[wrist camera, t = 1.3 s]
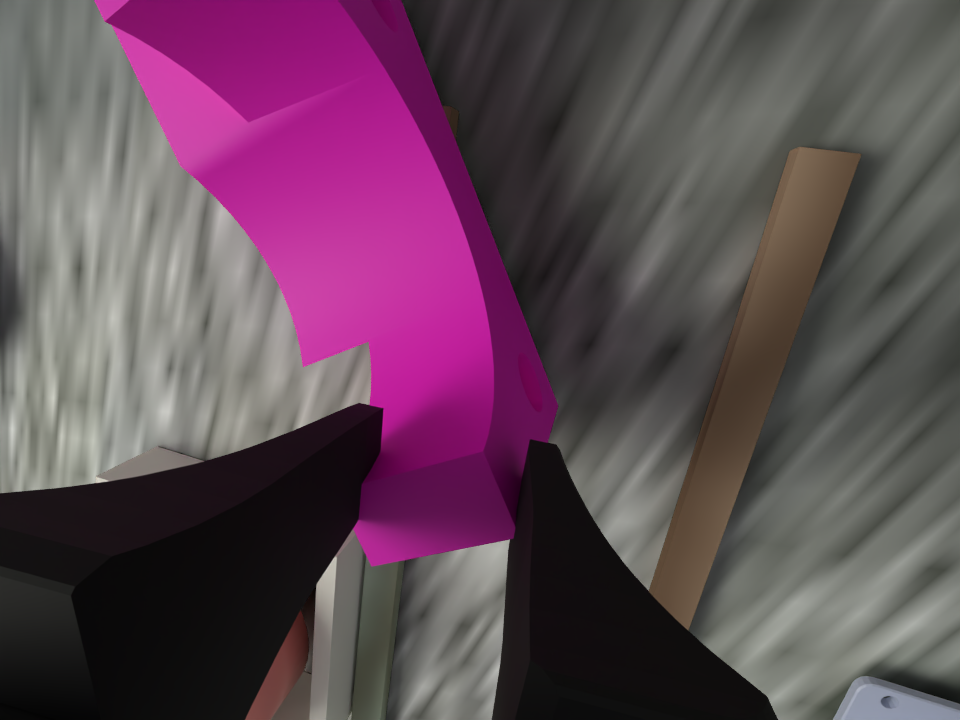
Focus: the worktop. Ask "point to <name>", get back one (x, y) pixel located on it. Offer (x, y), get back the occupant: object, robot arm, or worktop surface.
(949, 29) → the worktop surface
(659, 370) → the worktop surface
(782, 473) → the worktop surface
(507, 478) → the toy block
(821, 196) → the game lane
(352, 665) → the white square frame
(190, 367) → the worktop surface
